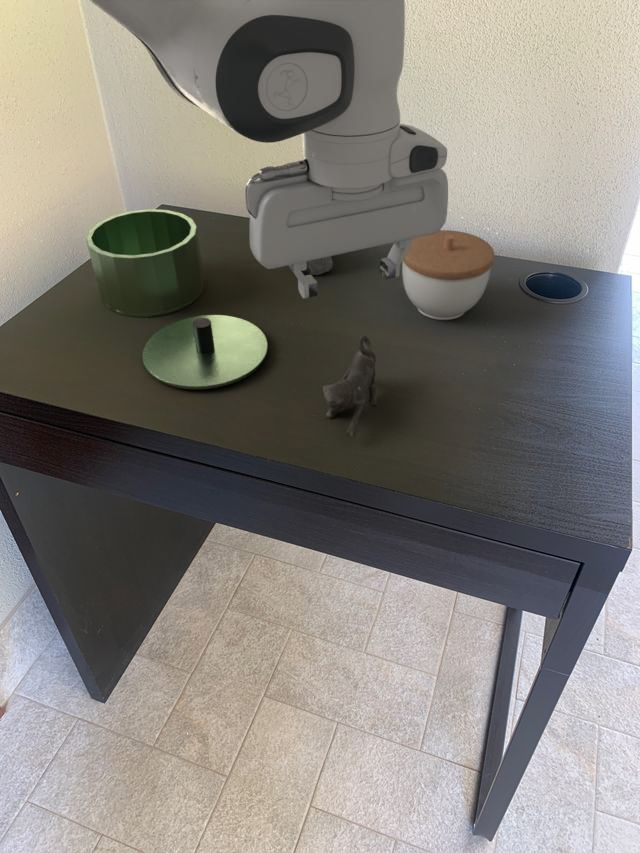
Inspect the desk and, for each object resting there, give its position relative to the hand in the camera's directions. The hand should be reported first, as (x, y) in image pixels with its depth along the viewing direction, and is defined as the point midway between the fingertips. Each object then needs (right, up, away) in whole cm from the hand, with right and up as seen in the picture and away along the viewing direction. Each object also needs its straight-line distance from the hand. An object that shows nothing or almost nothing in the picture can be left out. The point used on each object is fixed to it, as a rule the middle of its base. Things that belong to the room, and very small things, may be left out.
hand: (349, 285), depth 72 cm
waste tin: (-29, +6, +33) cm, 44 cm away
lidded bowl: (+15, +2, +28) cm, 32 cm away
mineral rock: (-5, +13, +40) cm, 42 cm away
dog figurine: (0, -13, +11) cm, 17 cm away
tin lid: (-18, -5, +19) cm, 27 cm away
